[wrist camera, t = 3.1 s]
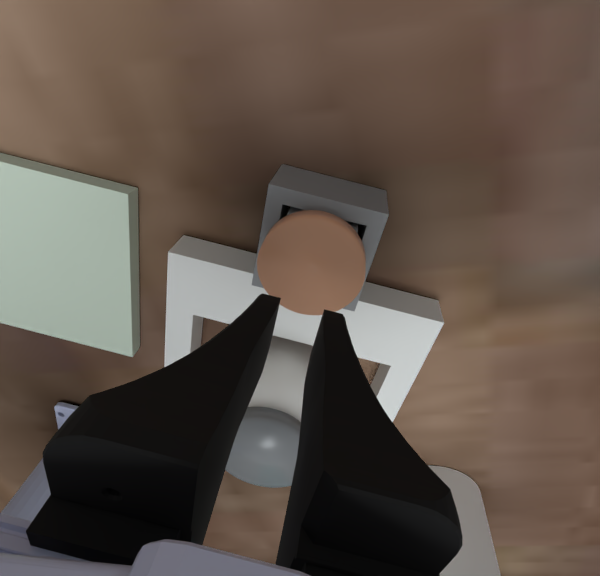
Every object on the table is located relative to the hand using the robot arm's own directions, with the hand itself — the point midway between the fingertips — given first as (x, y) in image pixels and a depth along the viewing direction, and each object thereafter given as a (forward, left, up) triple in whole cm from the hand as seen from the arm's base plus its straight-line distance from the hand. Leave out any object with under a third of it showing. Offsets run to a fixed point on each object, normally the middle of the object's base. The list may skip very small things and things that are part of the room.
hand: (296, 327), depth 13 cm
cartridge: (-9, 0, -8) cm, 12 cm away
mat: (-6, +15, -8) cm, 18 cm away
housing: (-6, 0, -8) cm, 11 cm away
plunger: (0, 0, -8) cm, 8 cm away
